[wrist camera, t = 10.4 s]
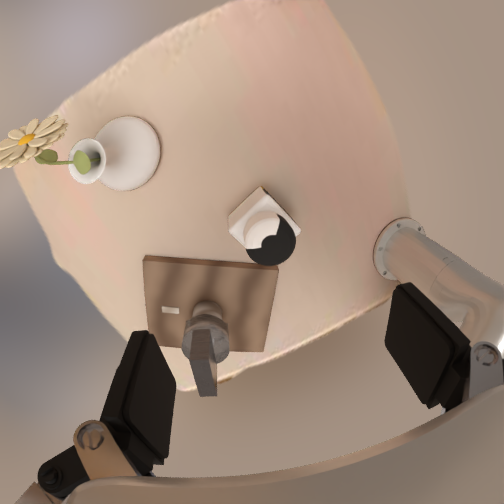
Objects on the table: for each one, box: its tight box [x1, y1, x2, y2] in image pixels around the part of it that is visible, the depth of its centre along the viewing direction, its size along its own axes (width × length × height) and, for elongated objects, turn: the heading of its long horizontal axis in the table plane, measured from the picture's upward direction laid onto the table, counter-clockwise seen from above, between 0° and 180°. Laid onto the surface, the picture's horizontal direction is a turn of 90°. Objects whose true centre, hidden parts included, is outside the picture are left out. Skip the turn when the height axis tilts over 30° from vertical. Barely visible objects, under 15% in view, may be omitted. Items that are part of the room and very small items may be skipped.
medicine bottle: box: [228, 186, 301, 266], centre depth 37 cm, size 7×7×12 cm
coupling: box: [182, 314, 230, 397], centre depth 37 cm, size 10×7×10 cm
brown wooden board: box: [143, 256, 279, 352], centre depth 45 cm, size 22×18×7 cm
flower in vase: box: [0, 115, 160, 191], centre depth 25 cm, size 13×11×25 cm
